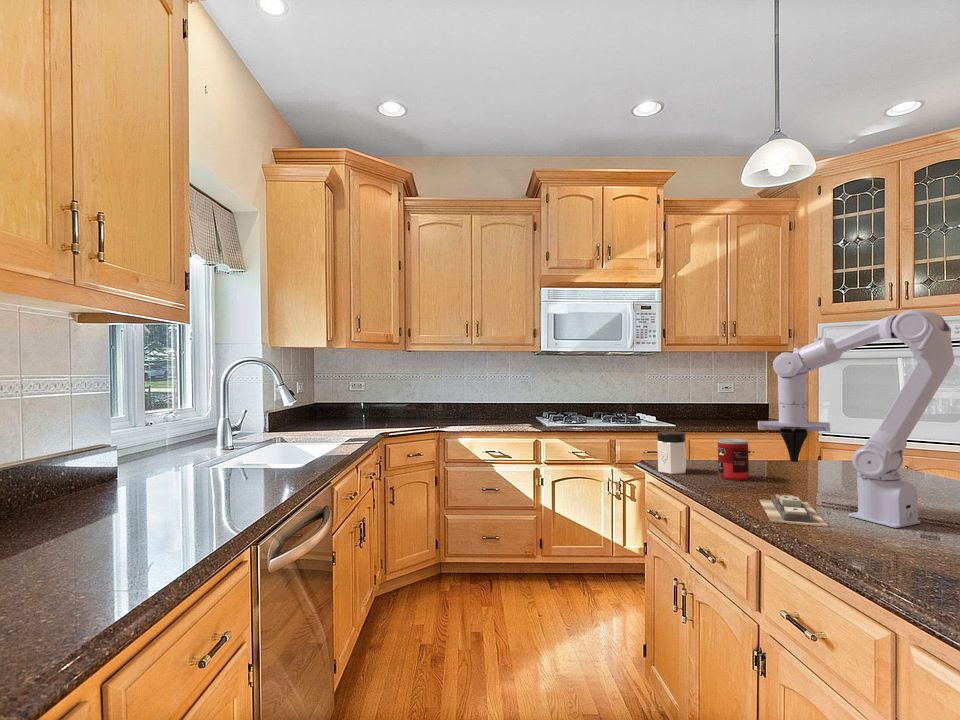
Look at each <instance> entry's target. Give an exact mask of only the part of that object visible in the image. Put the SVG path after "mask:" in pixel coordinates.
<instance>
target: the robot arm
mask: <svg viewBox="0 0 960 720" xmlns="http://www.w3.org/2000/svg"><path fill="white" fill-rule="evenodd" d="M951 336H952V328H951V326H949V324H948V323H947V321H946V320H945V319H944V317H943V316H942V315H940V314H939V313H937V312H934V311H923V310H920V309H909V310H908V309H907V310H904V311H902V312H900V313H898V314H893V315H889V316H886V317H884V318H881V319H879V320H876V321H874V322H872V323H869V324H868V325H865V326H863V327H861V328H858V329H855V330H854V331H852V332H849V333H847V334H845V335H843V336H841V337H838V338H836V339H832V338H829V337H823V338H822V337H815V338H814V339H813V342H812V343H809V344H806V345H804V346H802V347H794V348H793V351H792V352H789V351H788V352H787V351H786V352H781V353H780V354H778V355H777V356H776V357H775V358H774V360H773V361H772V368H773V371H774V372H775V374H776V375H777V399H778V401H777V403H778V405H777V406H778V420H758V421H757V429H758V430H759V431H760V430H761V431H764V430H768V431H769V430H770V431H779V434H780V435H781V437H782V440H783V442H784V444H785V447H786V449H787V452H788V455H789V457H788V458H789V461H790V462H791V463H799V456H800V452H801V449H802V447H803V445H804V443H805V440H806V439H807V437H808V434H809V433H808V432H828V433H830V432H831V423H830V422H825V421H822V422H821V421H808V407H807V406H808V405H807V404H808V403H807V382H806V381H807V380H806V376H807V374H808V373H809V372H812V371H815V370H817V369H820V368H823V367H825V366H827V365H831V364H833V363H836V362H838V361H839V360H840V359H841V358H842V356H843V354H844V353H845V352H846V353H847V352H848V351H852V350H854V349H857V348H860V347H863V346H865V345H868V344H871V343H874V342H877V341H880V340H883V339H889V340H890V339H891V340H892V339H897V340H899V341H901V342H902V343H904V344H905V345H906V346H907V347H908V348H909V350H910V352H911V353H912V355H913V357H914V358H915V360H916V364H915V365H914V368H913V369H912V371H911V373H910V375H909V376H908V378H907V379H906V381H905V383H904V385H903V387H902V388H901V389H900V391H899V393H898V395H897V396H896V398H895V399H894V401H893V403H892V405H891V406H890V408H889V410H888V412H887V413H886V415H885V416H884V418H883V419H882V422H881V424H880V425H879V427H878V428H877V430H876V431H875V432H874V433H873V434H872V435H871V436H870V437H869V438H868V440H867V441H866V443H865V444H864V445H863V446H861V447H859V448H858V449H856V450H855V452H853V454H852V458H851V462H852V466H853V467H854V469H855V470H856V471H857V472H856V481H857V483H856V485H857V486H856V487H857V488H856V489H857V511H855V512H851V513H850V512H849V513H848V515H847V516H848V517H851V518H855V519H859V520H863V521H866V522H871V523H875V524H878V525H882V526H883V525H884V526H886V527H887V526H888V527H891V528H895V529H898V528H902V527H903V528H904V527H908V526H912V525H917V524H918V525H919V524H921V521H920V520H919V515H918V514H919V512H918V511H919V510H918V505H919V504H918V493H917V491H918V490H917V488H916V486H915V484H913V483H912V482H911V483H910V482H907V481H904V480H902V479H901V475H900V473H899V472H898V470H899V469H900V468H901V466H902V465H903V462H904V452H905V450H906V448H907V444H908V442H907V441H908V438H909V437H910V435H911V434H912V432H913V430H914V428H916V425H917V424H918V422H919V421H920V420H921V417H922V415H923V414H924V412H925V411H926V409H927V407H928V406H929V404H930V403H931V401H932V399H933V398H934V396H935V395H936V393H937V391H938V390H939V388H940V387H941V385H942V383H943V381H944V379H945V378H946V376H947V375H948V374H949V372H950V370H951V368H952V367H953V365H954V363H955V355H954V350H953V343H952V337H951Z"/></svg>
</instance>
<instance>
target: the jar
mask: <svg viewBox="0 0 960 720" xmlns="http://www.w3.org/2000/svg"><path fill="white" fill-rule="evenodd" d="M656 438H657V471H658V472H659V473H664V474H670V475H675V474H676V475H677V474H686V472H687V457H686V456H687V453H686V448H687V447H686V432H683V431H677V430H664V431H663V430H662V431H658V432H657V437H656Z"/></svg>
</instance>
